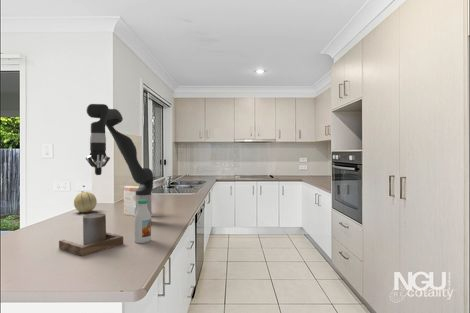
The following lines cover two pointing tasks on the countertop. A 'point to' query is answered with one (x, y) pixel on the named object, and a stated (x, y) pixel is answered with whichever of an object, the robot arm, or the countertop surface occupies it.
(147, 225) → the milk bottle
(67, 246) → the display frame
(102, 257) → the countertop surface
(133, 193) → the coffeecake box
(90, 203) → the cantaloupe
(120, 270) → the countertop surface
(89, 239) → the pillar candle
